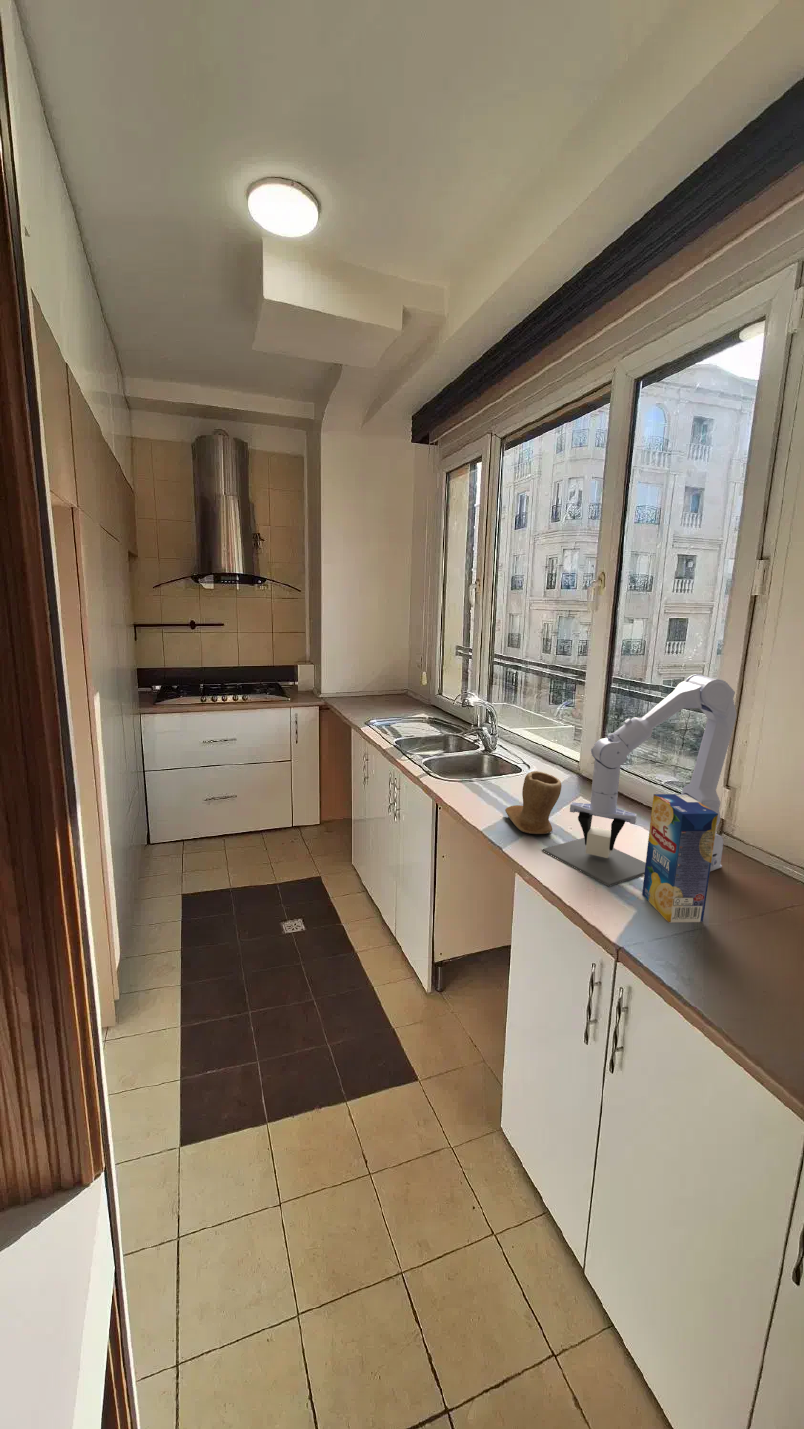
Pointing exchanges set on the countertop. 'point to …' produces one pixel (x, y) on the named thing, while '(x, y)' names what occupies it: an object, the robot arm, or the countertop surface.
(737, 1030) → the countertop surface
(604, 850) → the cream cube
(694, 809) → the beverage box
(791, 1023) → the countertop surface
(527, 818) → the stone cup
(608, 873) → the charcoal mat
